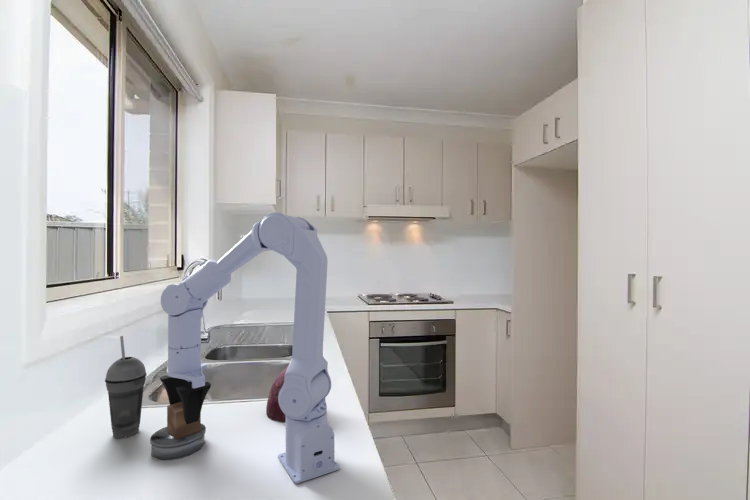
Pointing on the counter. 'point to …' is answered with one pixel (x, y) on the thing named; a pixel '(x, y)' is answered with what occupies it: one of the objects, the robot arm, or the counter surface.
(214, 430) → the counter surface
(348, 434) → the counter surface
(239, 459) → the counter surface
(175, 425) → the walnut block
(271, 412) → the vegetable
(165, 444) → the grey tin
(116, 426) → the beverage cup
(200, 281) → the robot arm
